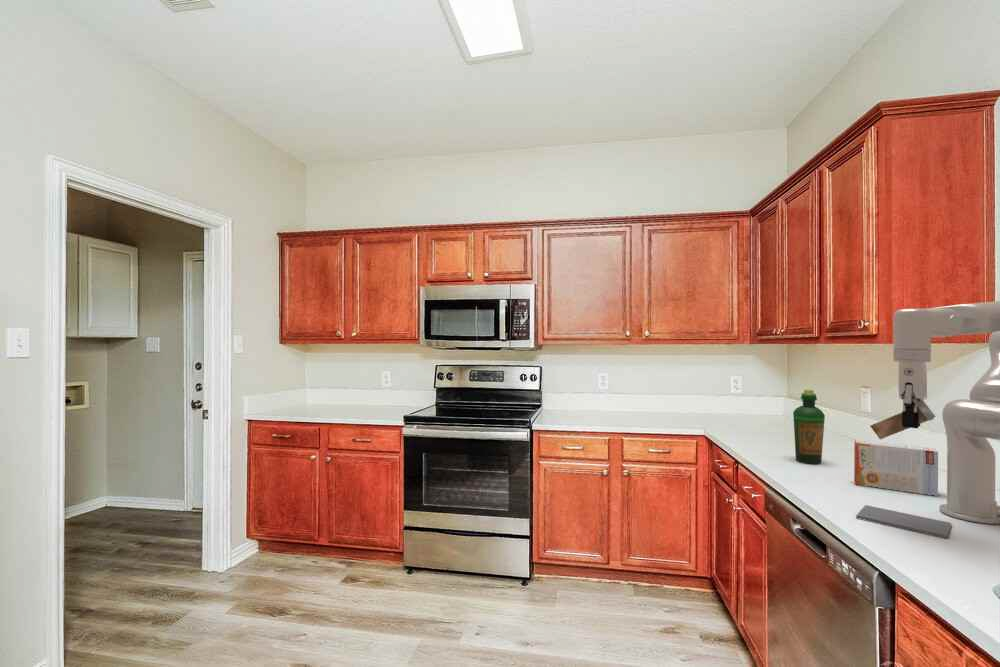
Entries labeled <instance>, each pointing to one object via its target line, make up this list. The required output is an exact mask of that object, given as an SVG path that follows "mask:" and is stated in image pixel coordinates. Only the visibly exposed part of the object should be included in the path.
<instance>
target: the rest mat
mask: <svg viewBox="0 0 1000 667" xmlns="http://www.w3.org/2000/svg"><path fill="white" fill-rule="evenodd" d="M855 517H856V519H857V518H861V519H860V520H862V519H865V520H864V521H866V520H869V521H868V522H870V521H873V522H872V523H875V522H876V523H875V524H879V523H880V525H884V526H889V527H892V526H893V528H897V529H903V530H906V531H911V532H915V533H919V534H924V535H929V536H933V537H937V538H941V539H946V540H948V537H949V536H950V535H949V534H950V531H951V528H952V522H949V521H943V520H940V519H934V518H930V517H924V516H919V515H916V514H910V513H906V512H902V511H896V510H891V509H886V508H881V507H877V506H873V505H872V506H871V505H867V504H865V505H864V506H863V507H862V508H861V509H860V511H859V512H858V513H857V514H856V515H855Z"/></svg>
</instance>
